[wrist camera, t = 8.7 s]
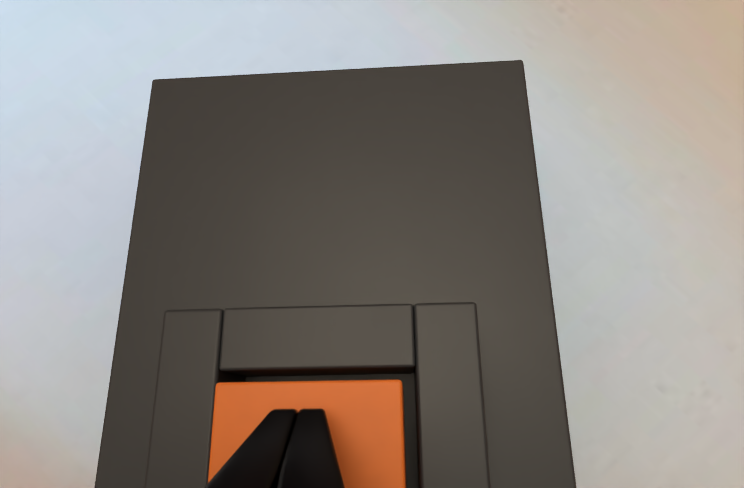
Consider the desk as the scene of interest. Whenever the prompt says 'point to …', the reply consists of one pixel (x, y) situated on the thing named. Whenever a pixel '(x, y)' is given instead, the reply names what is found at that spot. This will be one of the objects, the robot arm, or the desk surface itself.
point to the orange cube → (345, 418)
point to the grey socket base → (342, 268)
